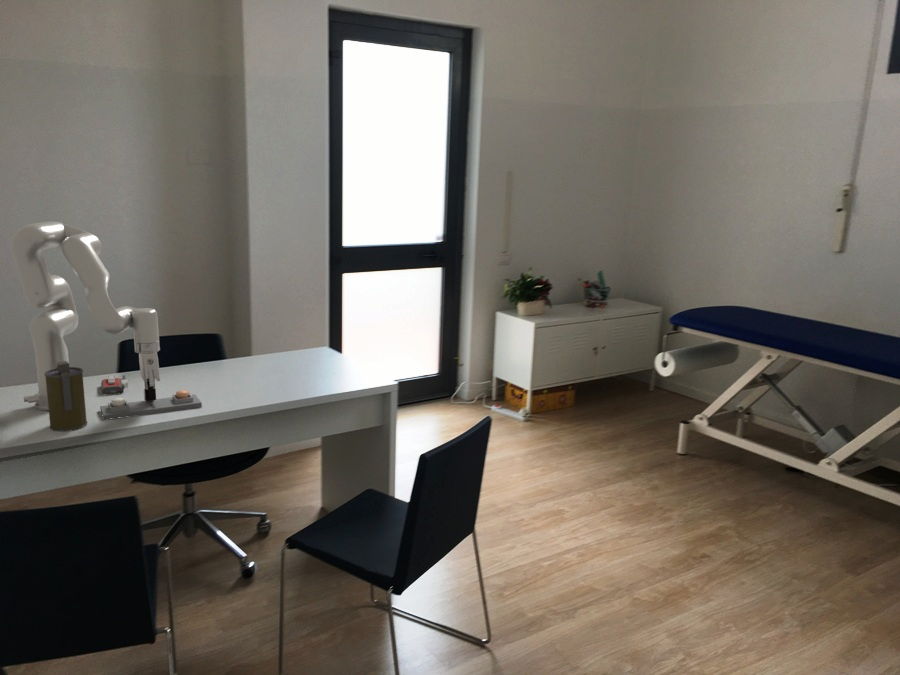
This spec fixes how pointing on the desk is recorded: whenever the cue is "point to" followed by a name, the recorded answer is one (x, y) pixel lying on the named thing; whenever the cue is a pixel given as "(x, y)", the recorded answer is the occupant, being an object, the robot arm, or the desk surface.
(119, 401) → the button left
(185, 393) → the button right
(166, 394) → the desk surface
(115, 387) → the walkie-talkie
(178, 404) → the panel
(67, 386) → the canister
